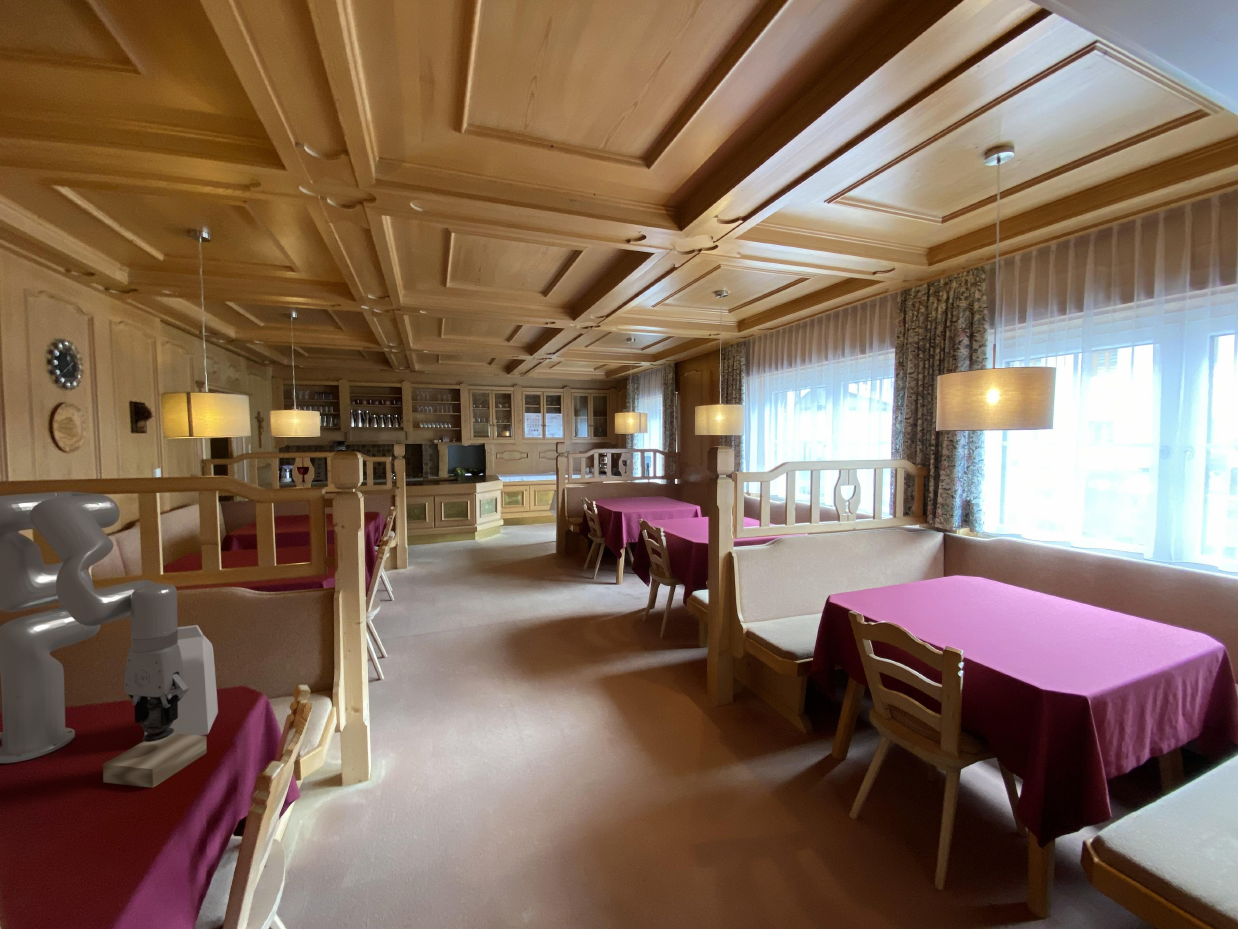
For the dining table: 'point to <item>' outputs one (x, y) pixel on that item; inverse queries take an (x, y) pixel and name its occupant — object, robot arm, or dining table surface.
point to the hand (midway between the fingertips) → (156, 720)
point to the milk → (196, 683)
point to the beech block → (154, 760)
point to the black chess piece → (155, 722)
